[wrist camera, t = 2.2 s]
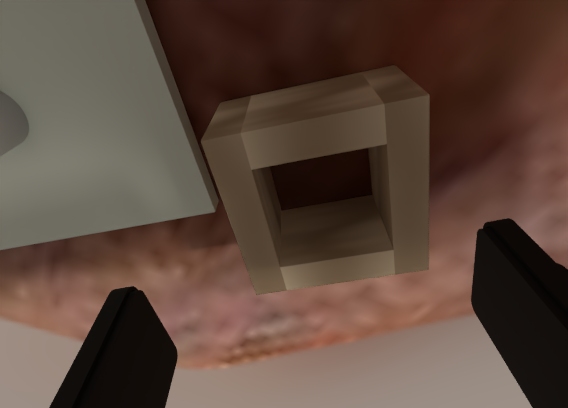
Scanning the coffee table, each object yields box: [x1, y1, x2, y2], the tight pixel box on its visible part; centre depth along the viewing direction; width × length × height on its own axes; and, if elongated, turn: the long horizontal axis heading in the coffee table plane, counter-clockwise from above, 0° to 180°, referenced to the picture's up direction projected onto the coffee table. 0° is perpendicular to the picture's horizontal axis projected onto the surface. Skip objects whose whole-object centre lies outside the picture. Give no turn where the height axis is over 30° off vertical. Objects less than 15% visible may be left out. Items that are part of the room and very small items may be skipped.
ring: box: [201, 65, 430, 295], centre depth 14 cm, size 7×7×4 cm
